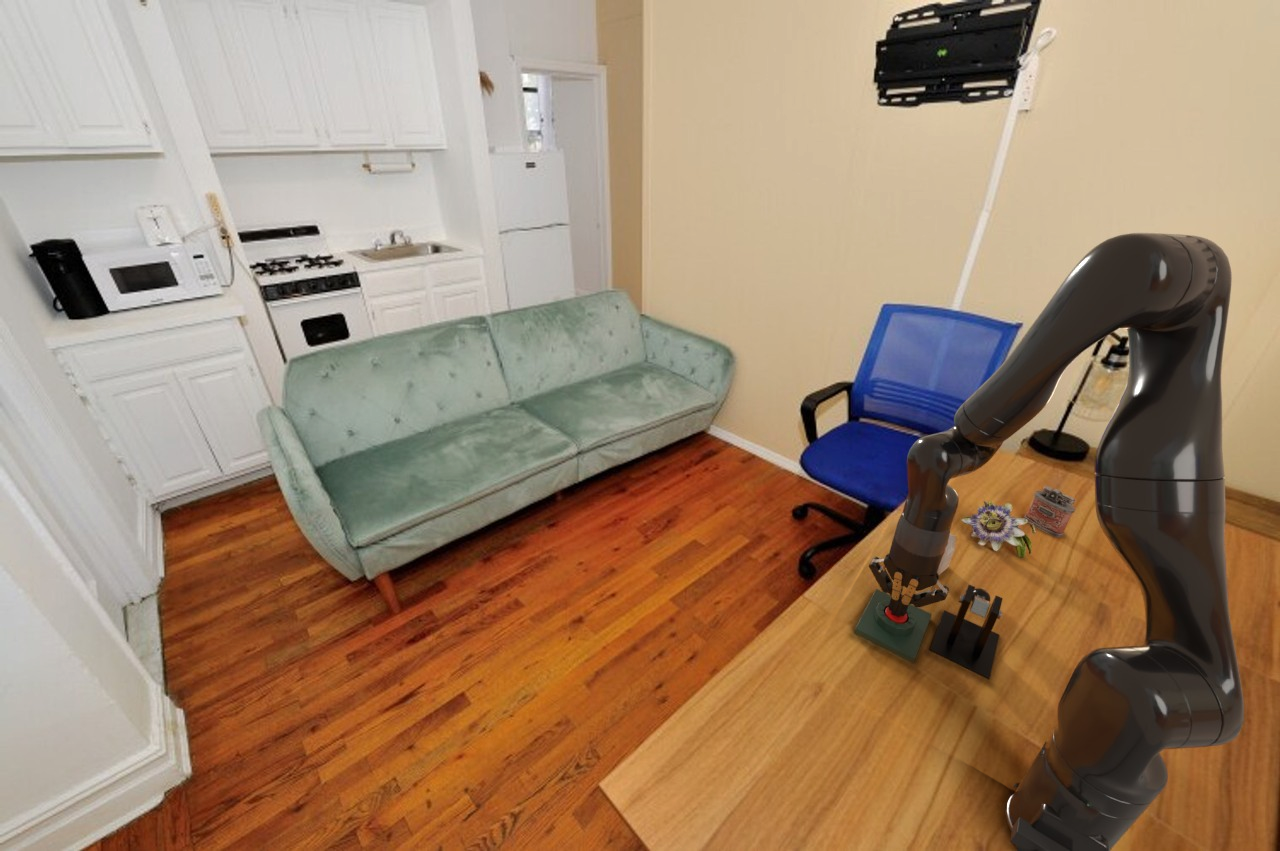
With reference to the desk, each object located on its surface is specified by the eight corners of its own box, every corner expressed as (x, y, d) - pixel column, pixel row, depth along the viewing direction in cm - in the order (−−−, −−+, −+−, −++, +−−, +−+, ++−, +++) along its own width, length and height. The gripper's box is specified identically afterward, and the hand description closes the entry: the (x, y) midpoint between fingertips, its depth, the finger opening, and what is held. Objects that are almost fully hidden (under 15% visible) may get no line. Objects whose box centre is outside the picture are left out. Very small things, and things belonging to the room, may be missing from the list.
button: (902, 631, 90) (904, 625, 89) (881, 621, 92) (883, 614, 91) (907, 618, 92) (909, 612, 91) (887, 609, 94) (888, 602, 94)
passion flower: (974, 564, 115) (950, 518, 114) (998, 538, 119) (976, 494, 119) (1027, 569, 104) (1002, 519, 104) (1051, 541, 109) (1027, 492, 108)
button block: (911, 666, 86) (917, 651, 84) (853, 636, 92) (857, 621, 90) (929, 622, 94) (934, 607, 93) (873, 596, 100) (878, 581, 98)
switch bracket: (942, 614, 96) (959, 568, 90) (997, 639, 91) (1019, 591, 85) (928, 653, 89) (945, 606, 83) (987, 683, 83) (1010, 634, 78)
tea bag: (916, 552, 111) (927, 516, 106) (947, 570, 106) (960, 533, 101) (906, 559, 109) (917, 522, 104) (938, 577, 104) (951, 540, 99)
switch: (967, 599, 96) (973, 584, 95) (986, 607, 94) (992, 592, 94) (965, 612, 85) (972, 594, 85) (987, 621, 83) (994, 603, 83)
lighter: (1020, 518, 120) (1035, 484, 116) (1029, 514, 121) (1044, 480, 117) (1057, 539, 114) (1074, 503, 109) (1066, 534, 115) (1083, 499, 110)
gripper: (871, 535, 84) (852, 607, 93) (960, 570, 77) (931, 646, 85) (884, 512, 89) (866, 583, 98) (969, 544, 82) (941, 618, 90)
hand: (896, 612), depth 91 cm, fingers closed
